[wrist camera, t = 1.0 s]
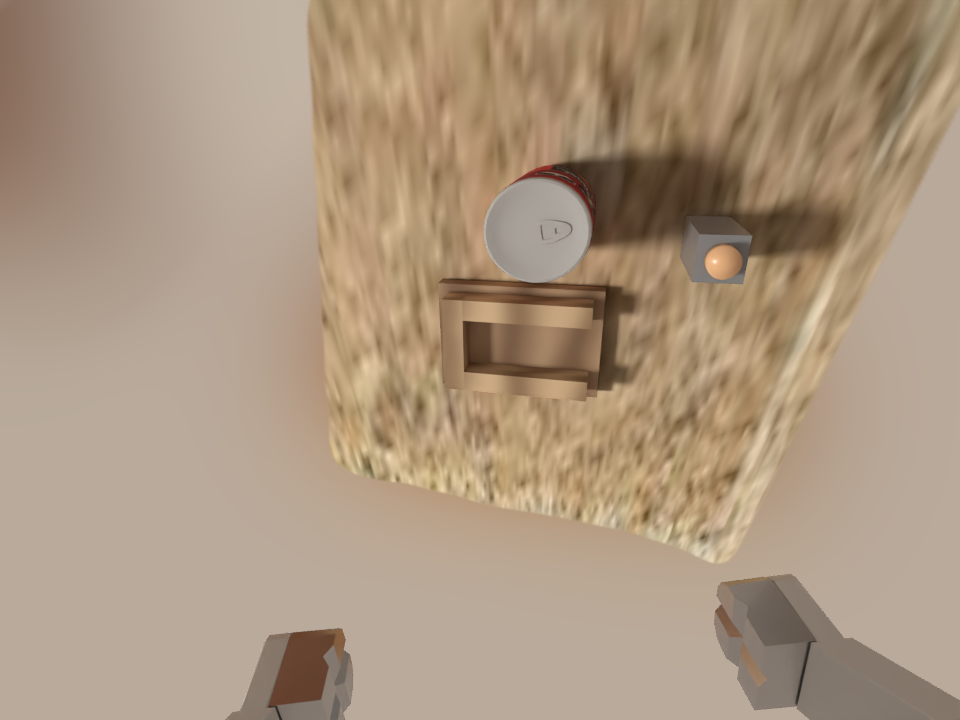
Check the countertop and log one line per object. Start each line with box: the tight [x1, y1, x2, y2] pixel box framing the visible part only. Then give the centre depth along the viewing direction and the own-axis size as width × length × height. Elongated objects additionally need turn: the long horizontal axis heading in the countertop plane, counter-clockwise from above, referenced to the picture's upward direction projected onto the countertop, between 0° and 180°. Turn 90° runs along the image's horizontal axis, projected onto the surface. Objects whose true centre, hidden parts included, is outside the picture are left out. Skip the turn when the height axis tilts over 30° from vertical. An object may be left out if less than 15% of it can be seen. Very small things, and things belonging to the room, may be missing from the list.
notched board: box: [438, 279, 606, 401], centre depth 52 cm, size 16×11×4 cm
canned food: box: [484, 165, 596, 283], centre depth 44 cm, size 8×8×11 cm
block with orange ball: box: [680, 216, 752, 284], centre depth 43 cm, size 4×4×9 cm
